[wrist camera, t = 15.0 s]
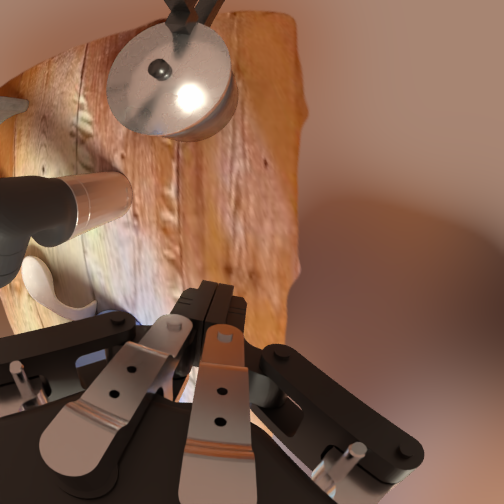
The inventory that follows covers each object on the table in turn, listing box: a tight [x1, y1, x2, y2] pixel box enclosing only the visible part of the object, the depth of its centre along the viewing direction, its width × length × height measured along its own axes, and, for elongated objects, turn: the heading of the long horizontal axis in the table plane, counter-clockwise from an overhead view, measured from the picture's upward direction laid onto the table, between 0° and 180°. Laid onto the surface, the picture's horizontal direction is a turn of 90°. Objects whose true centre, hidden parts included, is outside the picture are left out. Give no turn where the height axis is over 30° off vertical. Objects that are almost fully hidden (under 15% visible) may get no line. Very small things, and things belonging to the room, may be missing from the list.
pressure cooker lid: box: [106, 0, 232, 136], centre depth 23 cm, size 25×17×8 cm, turn 161°
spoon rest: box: [22, 256, 97, 321], centre depth 50 cm, size 24×12×7 cm, turn 67°
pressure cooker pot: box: [162, 0, 238, 142], centre depth 34 cm, size 24×16×13 cm, turn 160°
